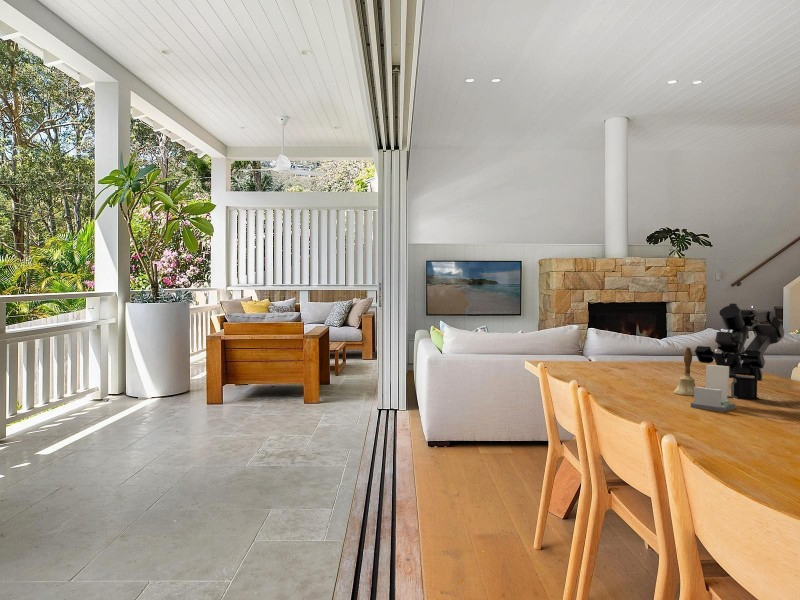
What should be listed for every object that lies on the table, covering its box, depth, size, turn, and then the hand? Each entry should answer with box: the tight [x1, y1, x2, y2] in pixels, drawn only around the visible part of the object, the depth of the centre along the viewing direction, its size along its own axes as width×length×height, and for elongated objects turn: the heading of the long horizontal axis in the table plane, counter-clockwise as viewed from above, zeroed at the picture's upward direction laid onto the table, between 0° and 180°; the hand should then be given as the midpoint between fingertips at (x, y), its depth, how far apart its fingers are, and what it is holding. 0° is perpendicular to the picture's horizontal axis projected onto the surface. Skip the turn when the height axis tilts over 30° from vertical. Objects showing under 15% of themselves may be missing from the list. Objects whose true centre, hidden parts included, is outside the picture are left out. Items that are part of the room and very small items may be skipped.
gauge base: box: [690, 386, 736, 413], centre depth 168 cm, size 10×9×6 cm
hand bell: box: [673, 346, 697, 397], centre depth 192 cm, size 8×8×16 cm
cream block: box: [705, 363, 734, 403], centre depth 170 cm, size 2×9×11 cm, turn 39°
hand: (720, 376), depth 172 cm, fingers closed
